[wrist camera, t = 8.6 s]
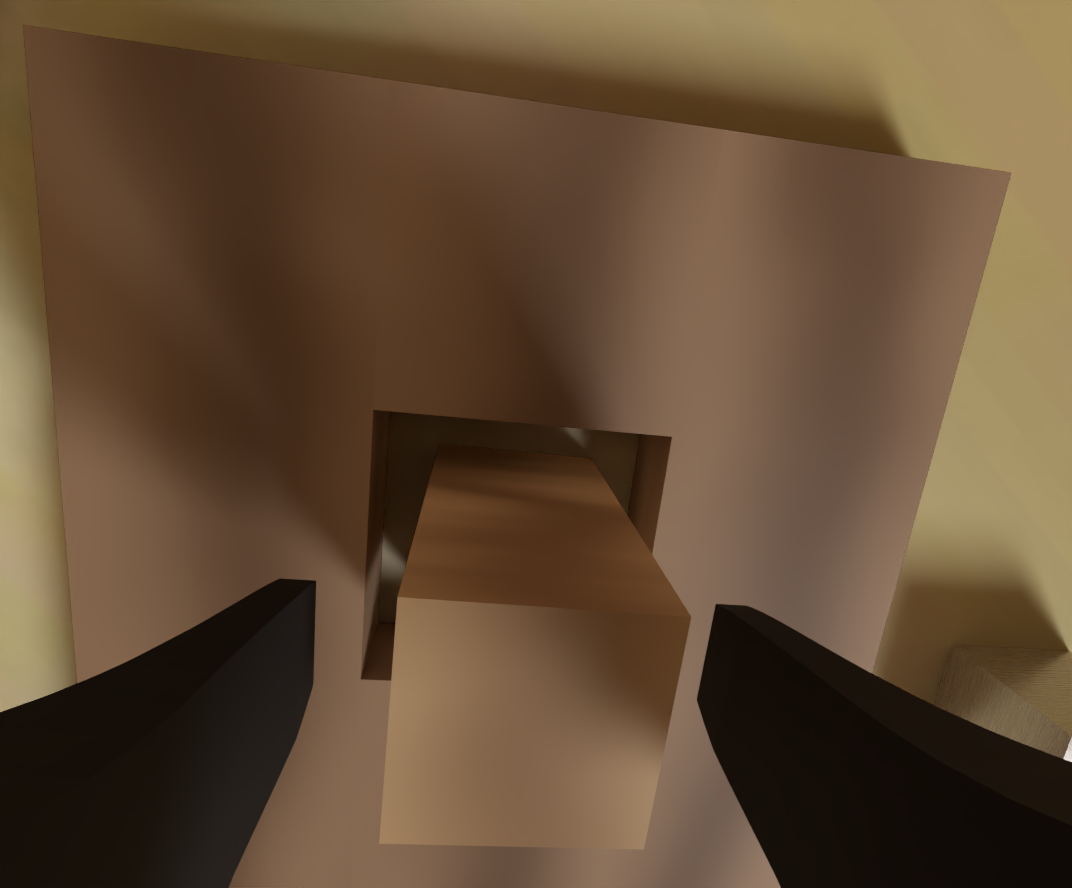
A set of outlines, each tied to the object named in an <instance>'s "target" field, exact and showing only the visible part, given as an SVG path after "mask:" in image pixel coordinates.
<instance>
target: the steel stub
mask: <svg viewBox="0 0 1072 888" xmlns="http://www.w3.org/2000/svg"><path fill="white" fill-rule="evenodd" d="M934 706H936V707H939V708H941V709H943V710H945V711H947V712H950V713H952V714H954V715H956V716H959V717H961V718H963V719H965V720H968V721H970V722H972V723H974V724H976V725H979V726H981V727H983V728H985V729H988V730H990V731H993V732H995V733H997V734H1000V735H1002V736H1005V737H1007V738H1010V739H1012V740H1015V741H1017V742H1020V743H1022V744H1025V745H1028V746H1030V747H1033V748H1036V749H1038V750H1041V751H1043V752H1046V753H1049V754H1051V755H1054V756H1057V757H1059V758H1062V759H1065V760H1067V761H1070V762H1072V653H1071V652H1070V651H1059V650H1040V649H1021V648H1002V647H983V646H964V645H952V647H951V650H950V654H949V657H948V660H947V663H946V667H945V670H944V673H943V676H942V679H941V683H940V686H939V689H938V692H937V696H936V699H935V702H934Z"/></svg>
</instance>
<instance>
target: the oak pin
mask: <svg viewBox="0 0 1072 888" xmlns="http://www.w3.org/2000/svg"><path fill="white" fill-rule="evenodd" d="M690 622H691V615H690V614H689V612H688V611H687V609H686V607H685V606H684V604H683V603H682V601H681V600H680V598H679V596H678V595H677V593H676V592H675V590H674V588H673V587H672V585H671V584H670V582H669V581H668V579H667V577H666V576H665V574H664V573H663V571H662V569H661V568H660V566H659V565H658V563H657V562H656V560H655V558H654V557H653V555H652V554H651V552H650V550H649V549H648V547H647V546H646V544H645V543H644V541H643V539H642V538H641V536H640V535H639V533H638V531H637V530H636V528H635V527H634V525H633V524H632V522H631V520H630V519H629V517H628V516H627V514H626V512H625V511H624V509H623V508H622V506H621V505H620V503H619V501H618V500H617V498H616V497H615V495H614V493H613V492H612V490H611V489H610V487H609V486H608V484H607V482H606V481H605V479H604V478H603V476H602V474H601V473H600V471H599V470H598V468H597V467H596V465H595V463H594V462H593V460H592V459H591V458H583V457H573V456H563V455H552V454H542V453H531V452H521V451H511V450H500V449H490V448H479V447H469V446H459V445H448V444H439V447H438V450H437V454H436V458H435V461H434V465H433V469H432V472H431V476H430V480H429V483H428V487H427V491H426V494H425V498H424V502H423V505H422V509H421V513H420V516H419V520H418V524H417V527H416V531H415V535H414V538H413V542H412V546H411V549H410V553H409V557H408V560H407V564H406V568H405V571H404V575H403V579H402V582H401V586H400V590H399V593H398V597H397V610H396V623H395V637H394V650H393V664H392V677H391V691H390V704H389V718H388V731H387V745H386V758H385V772H384V785H383V799H382V812H381V826H380V839H379V844H417V845H462V846H506V847H551V848H596V849H641V850H644V847H645V842H646V837H647V832H648V827H649V822H650V817H651V812H652V807H653V803H654V798H655V793H656V788H657V783H658V778H659V773H660V768H661V763H662V759H663V754H664V749H665V744H666V739H667V734H668V729H669V724H670V719H671V715H672V710H673V705H674V700H675V695H676V690H677V685H678V680H679V676H680V671H681V666H682V661H683V656H684V651H685V646H686V641H687V636H688V632H689V627H690Z"/></svg>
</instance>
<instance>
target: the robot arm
mask: <svg viewBox="0 0 1072 888" xmlns="http://www.w3.org/2000/svg"><path fill="white" fill-rule="evenodd" d="M315 608H316V580H298V579H281V578H280V579H277V580H275V581H273V582H271V583H269V584H267V585H265V586H264V587H262V588H260V589H258V590H257V591H255V592H253V593H251V594H250V595H248V596H246V597H245V598H243V599H241V600H240V601H238V602H236V603H234V604H233V605H231V606H229V607H228V608H226V609H224V610H222V611H221V612H219V613H217V614H215V615H214V616H212V617H210V618H208V619H207V620H205V621H203V622H201V623H200V624H198V625H196V626H194V627H193V628H191V629H189V630H187V631H185V632H183V633H181V634H179V635H177V636H175V637H174V638H172V639H170V640H168V641H166V642H164V643H162V644H160V645H158V646H156V647H154V648H152V649H151V650H149V651H147V652H145V653H143V654H141V655H139V656H137V657H135V658H133V659H131V660H129V661H127V662H125V663H123V664H120V665H118V666H116V667H114V668H112V669H109V670H107V671H105V672H103V673H101V674H98V675H96V676H94V677H91V678H89V679H86V680H84V681H82V682H79V683H77V684H75V685H72V686H70V687H67V688H65V689H63V690H60V691H58V692H55V693H53V694H50V695H48V696H45V697H42V698H40V699H37V700H34V701H31V702H28V703H25V704H23V705H20V706H17V707H14V708H11V709H8V710H6V711H3V712H0V888H229V886H230V883H231V881H232V878H233V876H234V874H235V871H236V869H237V867H238V865H239V863H240V860H241V858H242V856H243V854H244V852H245V850H246V847H247V845H248V843H249V841H250V839H251V837H252V834H253V832H254V830H255V828H256V826H257V824H258V822H259V819H260V817H261V815H262V813H263V811H264V809H265V806H266V804H267V802H268V800H269V798H270V796H271V793H272V791H273V789H274V787H275V785H276V783H277V780H278V778H279V776H280V774H281V772H282V770H283V767H284V765H285V763H286V761H287V759H288V756H289V754H290V752H291V750H292V747H293V745H294V743H295V741H296V738H297V735H298V732H299V729H300V726H301V723H302V720H303V717H304V714H305V711H306V707H307V704H308V701H309V697H310V694H311V691H312V688H313V682H314V645H315ZM697 703H698V706H699V709H700V712H701V715H702V718H703V722H704V725H705V728H706V731H707V733H708V736H709V739H710V742H711V745H712V747H713V750H714V753H715V755H716V757H717V759H718V761H719V763H720V765H721V767H722V769H723V771H724V773H725V776H726V778H727V780H728V782H729V784H730V786H731V788H732V790H733V792H734V794H735V796H736V798H737V800H738V802H739V804H740V806H741V808H742V810H743V812H744V814H745V816H746V818H747V820H748V822H749V824H750V826H751V828H752V830H753V832H754V834H755V836H756V838H757V840H758V842H759V844H760V846H761V848H762V850H763V852H764V854H765V856H766V858H767V860H768V862H769V864H770V866H771V868H772V870H773V872H774V874H775V876H776V878H777V880H778V883H779V885H780V887H781V888H1072V762H1070V761H1067V760H1065V759H1062V758H1059V757H1057V756H1054V755H1051V754H1049V753H1046V752H1043V751H1041V750H1038V749H1036V748H1033V747H1030V746H1028V745H1025V744H1022V743H1020V742H1017V741H1015V740H1012V739H1010V738H1007V737H1005V736H1002V735H1000V734H997V733H995V732H993V731H990V730H988V729H985V728H983V727H981V726H979V725H976V724H974V723H972V722H970V721H968V720H965V719H963V718H961V717H959V716H956V715H954V714H952V713H950V712H947V711H945V710H943V709H941V708H939V707H936V706H934V705H932V704H930V703H928V702H926V701H924V700H922V699H920V698H918V697H916V696H914V695H912V694H910V693H908V692H906V691H904V690H902V689H900V688H898V687H896V686H895V685H893V684H891V683H889V682H887V681H885V680H883V679H881V678H879V677H877V676H875V675H874V674H872V673H870V672H868V671H866V670H864V669H863V668H861V667H859V666H857V665H855V664H854V663H852V662H850V661H848V660H847V659H845V658H843V657H841V656H839V655H838V654H836V653H834V652H832V651H831V650H829V649H827V648H825V647H824V646H822V645H820V644H819V643H817V642H815V641H813V640H812V639H810V638H808V637H806V636H805V635H803V634H801V633H799V632H798V631H796V630H794V629H792V628H791V627H789V626H787V625H785V624H784V623H782V622H780V621H778V620H776V619H774V618H773V617H771V616H769V615H767V614H765V613H763V612H761V611H759V610H757V609H754V608H752V607H749V606H745V605H728V604H716V605H715V610H714V615H713V620H712V625H711V630H710V635H709V640H708V645H707V650H706V655H705V660H704V665H703V670H702V675H701V680H700V685H699V690H698V695H697Z"/></svg>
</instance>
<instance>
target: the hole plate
mask: <svg viewBox="0 0 1072 888" xmlns="http://www.w3.org/2000/svg"><path fill="white" fill-rule="evenodd" d="M23 32H24V44H25V56H26V68H27V80H28V93H29V105H30V117H31V129H32V141H33V153H34V165H35V178H36V190H37V202H38V214H39V226H40V238H41V250H42V262H43V275H44V287H45V299H46V311H47V323H48V335H49V347H50V360H51V372H52V384H53V396H54V408H55V420H56V432H57V444H58V457H59V469H60V481H61V493H62V505H63V517H64V529H65V542H66V554H67V566H68V578H69V590H70V602H71V614H72V626H73V639H74V651H75V663H76V675H77V683H79V682H82V681H84V680H86V679H89V678H91V677H94V676H96V675H98V674H101V673H103V672H105V671H107V670H109V669H112V668H114V667H116V666H118V665H120V664H123V663H125V662H127V661H129V660H131V659H133V658H135V657H137V656H139V655H141V654H143V653H145V652H147V651H149V650H151V649H152V648H154V647H156V646H158V645H160V644H162V643H164V642H166V641H168V640H170V639H172V638H174V637H175V636H177V635H179V634H181V633H183V632H185V631H187V630H189V629H191V628H193V627H194V626H196V625H198V624H200V623H201V622H203V621H205V620H207V619H208V618H210V617H212V616H214V615H215V614H217V613H219V612H221V611H222V610H224V609H226V608H228V607H229V606H231V605H233V604H234V603H236V602H238V601H240V600H241V599H243V598H245V597H246V596H248V595H250V594H251V593H253V592H255V591H257V590H258V589H260V588H262V587H264V586H265V585H267V584H269V583H271V582H273V581H275V580H277V579H280V578H281V579H298V580H316V608H315V645H314V682H313V688H312V691H311V694H310V697H309V701H308V704H307V707H306V711H305V714H304V717H303V720H302V723H301V726H300V729H299V732H298V735H297V738H296V741H295V743H294V745H293V747H292V750H291V752H290V754H289V756H288V759H287V761H286V763H285V765H284V767H283V770H282V772H281V774H280V776H279V778H278V780H277V783H276V785H275V787H274V789H273V791H272V793H271V796H270V798H269V800H268V802H267V804H266V806H265V809H264V811H263V813H262V815H261V817H260V819H259V822H258V824H257V826H256V828H255V830H254V832H253V834H252V837H251V839H250V841H249V843H248V845H247V847H246V850H245V852H244V854H243V856H242V858H241V860H240V863H239V865H238V867H237V869H236V871H235V874H234V876H233V878H232V881H231V883H230V886H229V888H781V887H780V885H779V883H778V880H777V878H776V876H775V874H774V872H773V870H772V868H771V866H770V864H769V862H768V860H767V858H766V856H765V854H764V852H763V850H762V848H761V846H760V844H759V842H758V840H757V838H756V836H755V834H754V832H753V830H752V828H751V826H750V824H749V822H748V820H747V818H746V816H745V814H744V812H743V810H742V808H741V806H740V804H739V802H738V800H737V798H736V796H735V794H734V792H733V790H732V788H731V786H730V784H729V782H728V780H727V778H726V776H725V773H724V771H723V769H722V767H721V765H720V763H719V761H718V759H717V757H716V755H715V753H714V750H713V747H712V745H711V742H710V739H709V736H708V733H707V731H706V728H705V725H704V722H703V718H702V715H701V712H700V709H699V706H698V703H697V695H698V690H699V685H700V680H701V675H702V670H703V665H704V660H705V655H706V650H707V645H708V640H709V635H710V630H711V625H712V620H713V615H714V610H715V605H716V604H728V605H745V606H749V607H752V608H754V609H757V610H759V611H761V612H763V613H765V614H767V615H769V616H771V617H773V618H774V619H776V620H778V621H780V622H782V623H784V624H785V625H787V626H789V627H791V628H792V629H794V630H796V631H798V632H799V633H801V634H803V635H805V636H806V637H808V638H810V639H812V640H813V641H815V642H817V643H819V644H820V645H822V646H824V647H825V648H827V649H829V650H831V651H832V652H834V653H836V654H838V655H839V656H841V657H843V658H845V659H847V660H848V661H850V662H852V663H854V664H855V665H857V666H859V667H861V668H863V669H864V670H866V671H868V672H870V673H872V671H873V667H874V664H875V660H876V657H877V653H878V649H879V646H880V642H881V639H882V635H883V632H884V628H885V624H886V621H887V617H888V614H889V610H890V606H891V603H892V599H893V596H894V592H895V589H896V585H897V581H898V578H899V574H900V571H901V567H902V563H903V560H904V556H905V553H906V549H907V545H908V542H909V538H910V535H911V531H912V528H913V524H914V520H915V517H916V513H917V510H918V506H919V502H920V499H921V495H922V492H923V488H924V485H925V481H926V477H927V474H928V470H929V467H930V463H931V459H932V456H933V452H934V449H935V445H936V442H937V438H938V434H939V431H940V427H941V424H942V420H943V416H944V413H945V409H946V406H947V402H948V399H949V395H950V391H951V388H952V384H953V381H954V377H955V373H956V370H957V366H958V363H959V359H960V356H961V352H962V348H963V345H964V341H965V338H966V334H967V330H968V327H969V323H970V320H971V316H972V312H973V309H974V305H975V302H976V298H977V295H978V291H979V287H980V284H981V280H982V277H983V273H984V269H985V266H986V262H987V259H988V255H989V252H990V248H991V244H992V241H993V237H994V234H995V230H996V226H997V223H998V219H999V216H1000V212H1001V209H1002V205H1003V201H1004V198H1005V194H1006V191H1007V187H1008V183H1009V180H1010V176H1011V172H1004V171H998V170H991V169H984V168H978V167H971V166H964V165H957V164H951V163H944V162H937V161H931V160H924V159H917V158H911V157H904V156H897V155H890V154H884V153H877V152H870V151H864V150H857V149H850V148H844V147H837V146H830V145H824V144H817V143H810V142H803V141H797V140H790V139H783V138H777V137H770V136H763V135H757V134H750V133H743V132H736V131H730V130H723V129H716V128H710V127H703V126H696V125H690V124H683V123H676V122H670V121H663V120H656V119H649V118H643V117H636V116H629V115H623V114H616V113H609V112H603V111H596V110H589V109H582V108H576V107H569V106H562V105H556V104H549V103H542V102H536V101H529V100H522V99H516V98H509V97H502V96H495V95H489V94H482V93H475V92H469V91H462V90H455V89H449V88H442V87H435V86H428V85H422V84H415V83H408V82H402V81H395V80H388V79H382V78H375V77H368V76H362V75H355V74H348V73H341V72H335V71H328V70H321V69H315V68H308V67H301V66H295V65H288V64H281V63H274V62H268V61H261V60H254V59H248V58H241V57H234V56H228V55H221V54H214V53H208V52H201V51H194V50H187V49H181V48H174V47H167V46H161V45H154V44H147V43H141V42H134V41H127V40H120V39H114V38H107V37H100V36H94V35H87V34H80V33H74V32H67V31H60V30H53V29H47V28H40V27H33V26H27V25H23ZM389 411H392V412H404V413H415V414H426V415H437V416H448V417H459V418H470V419H481V420H492V421H503V422H514V423H525V424H536V425H547V426H558V427H569V428H581V429H592V430H603V431H614V432H625V433H636V434H640V439H639V445H638V451H637V458H636V464H635V470H634V477H633V483H632V490H631V496H630V502H629V509H628V515H627V516H628V517H629V519H630V520H631V522H632V524H633V525H634V527H635V528H636V530H637V531H638V533H639V535H640V536H641V538H642V539H643V541H644V543H645V544H646V546H647V547H648V549H649V550H650V552H651V554H652V555H653V557H654V558H655V560H656V562H657V563H658V565H659V566H660V568H661V569H662V571H663V573H664V574H665V576H666V577H667V579H668V581H669V582H670V584H671V585H672V587H673V588H674V590H675V592H676V593H677V595H678V596H679V598H680V600H681V601H682V603H683V604H684V606H685V607H686V609H687V611H688V612H689V614H690V615H691V622H690V627H689V632H688V636H687V641H686V646H685V651H684V656H683V661H682V666H681V671H680V676H679V680H678V685H677V690H676V695H675V700H674V705H673V710H672V715H671V719H670V724H669V729H668V734H667V739H666V744H665V749H664V754H663V759H662V763H661V768H660V773H659V778H658V783H657V788H656V793H655V798H654V803H653V807H652V812H651V817H650V822H649V827H648V832H647V837H646V842H645V847H644V850H641V849H596V848H551V847H506V846H462V845H417V844H379V839H380V826H381V812H382V799H383V785H384V772H385V758H386V745H387V731H388V718H389V704H390V691H391V677H392V664H393V650H394V637H395V624H392V623H378V616H379V597H380V578H381V560H382V541H383V522H384V504H385V485H386V466H387V447H388V429H389Z"/></svg>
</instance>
